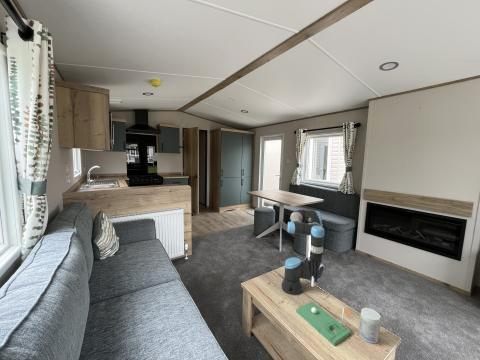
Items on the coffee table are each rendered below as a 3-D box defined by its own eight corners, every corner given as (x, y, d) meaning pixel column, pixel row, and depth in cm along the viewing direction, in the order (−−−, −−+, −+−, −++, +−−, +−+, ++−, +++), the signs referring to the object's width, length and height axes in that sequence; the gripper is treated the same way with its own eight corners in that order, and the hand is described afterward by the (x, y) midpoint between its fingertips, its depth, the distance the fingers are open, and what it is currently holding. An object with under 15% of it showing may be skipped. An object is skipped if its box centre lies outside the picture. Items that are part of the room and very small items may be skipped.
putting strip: (296, 311, 138) (297, 292, 136) (311, 303, 145) (313, 285, 143) (334, 345, 114) (336, 322, 112) (350, 334, 121) (352, 312, 120)
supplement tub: (365, 327, 127) (368, 305, 125) (382, 340, 118) (385, 316, 116) (355, 333, 122) (357, 310, 120) (371, 346, 114) (374, 322, 112)
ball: (310, 312, 135) (310, 307, 135) (313, 310, 137) (313, 305, 136) (314, 315, 132) (314, 310, 132) (317, 313, 134) (318, 308, 133)
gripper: (303, 248, 134) (301, 282, 138) (321, 257, 123) (318, 293, 127) (311, 245, 138) (309, 278, 142) (329, 254, 127) (326, 289, 131)
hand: (313, 285), depth 134 cm, fingers closed
